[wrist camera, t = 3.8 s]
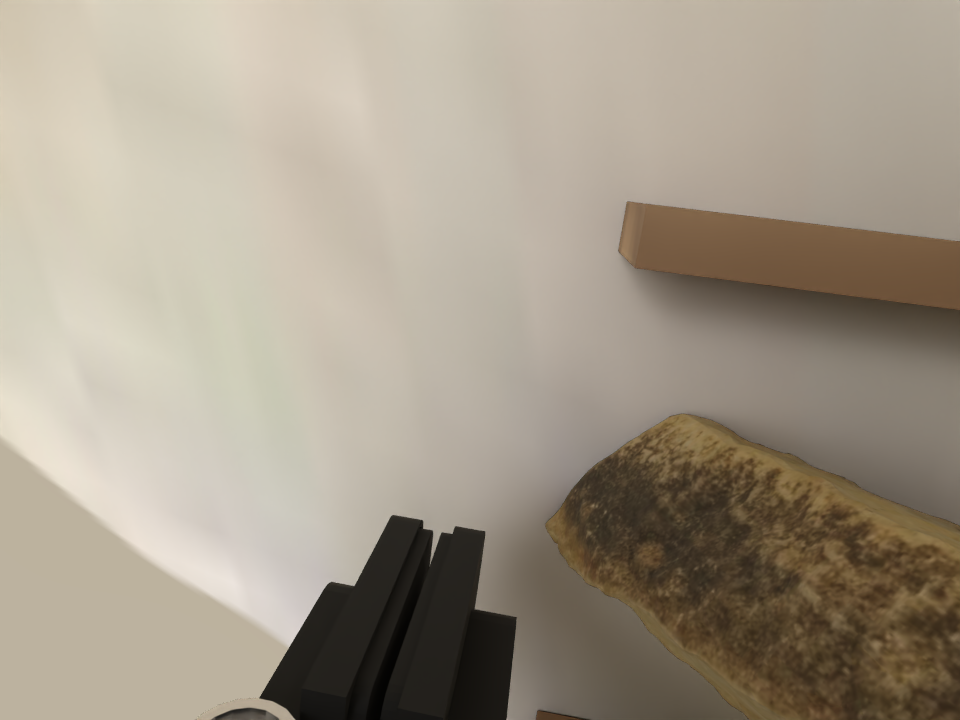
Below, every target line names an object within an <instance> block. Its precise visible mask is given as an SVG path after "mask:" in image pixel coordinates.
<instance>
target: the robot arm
mask: <svg viewBox="0 0 960 720" xmlns="http://www.w3.org/2000/svg"><path fill="white" fill-rule="evenodd" d="M432 540H433V531H432V530H426V529H423V520H418V519H412V518H407V517H401V516H396V515H392V516H391V518H390V519H389V521H388V523H387V525H386V527H385V529H384V531H383V533H382V535H381V537H380V538H379V540H378V542H377V544H376V546H375V548H374V550H373V552H372V554H371V556H370V558H369V560H368V561H367V563H366V565H365V567H364V569H363V571H362V573H361V575H360V577H359V579H358V581H357V582H356V584H355V586H350V585H345V584H340V583H334V582H331V583H329V584H328V585H327V586H326V587H325V589H324V590H323V592H322V593H321V595H320V597H319V599H318V600H317V602H316V604H315V605H314V607H313V609H312V610H311V612H310V614H309V615H308V617H307V619H306V620H305V622H304V624H303V625H302V627H301V629H300V630H299V632H298V634H297V635H296V637H295V639H294V641H293V642H292V644H291V646H290V647H289V649H288V651H287V652H286V654H285V656H284V657H283V659H282V661H281V662H280V664H279V666H278V667H277V669H276V671H275V672H274V674H273V676H272V678H271V679H270V681H269V683H268V684H267V686H266V688H265V689H264V691H263V693H262V694H261V696H260V698H259V699H258V698H248V699H237V700H233V701H230V702H226V703H223V704H219V705H218V706H216V707H214V708H212V709H210V710H208V711H207V712H205V713H203V714H201V715H200V716H199V717H198V718H197V719H196V720H506V718H507V708H508V698H509V689H510V679H511V669H512V659H513V650H514V640H515V630H516V617H512V616H506V615H501V614H496V613H491V612H486V611H480V610H475V603H476V596H477V589H478V582H479V575H480V568H481V561H482V554H483V547H484V540H485V531H479V530H473V529H468V528H462V527H457V526H455V528H454V531H453V534H448V533H443V532H442V533H441V536H440V538H439V541H438V544H437V547H436V550H435V553H434V556H433V558H432V561H431V564H430V557H431V549H432ZM429 566H430V567H429Z"/></svg>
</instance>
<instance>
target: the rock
mask: <svg viewBox="0 0 960 720" xmlns="http://www.w3.org/2000/svg"><path fill="white" fill-rule="evenodd" d="M545 527H546V529H547V531H548V533H549V534H550V536H551V537H552V539H553V541H554V542H555V543H557V544H558V549H559V551H560V554H561V555H562V556H563V557H564V558H565V559H566V561H567V563H568V565H569V567H571V568H572V569H573V570H575V571H576V572H577V573H578V575H580V576H581V577H582V578H583V579H584V581H585V582H586V583H587V584H589V585H591V586H593V587H596V588H599V589H600V590H601V591H602V592H603V593H604V594H605V595H607V596H610V597H614V598H617V599H619V600H620V601H622V602H623V603H625V604H626V605H628V606H629V607H631V608H632V609H633V610H634V612H635V613H636V614H637V615H638V616H639V618H640V619H641V620H642V622H643V623H644V625H645V626H646V628H647V629H648V631H649V632H650V633H652V634H653V635H654V636H656V637H657V638H658V639H659V640H660V642H661V643H662V644H663V645H664V646H665V647H666V648H667V650H668V651H670V652H671V653H672V654H673V655H674V656H676V657H677V658H678V659H680V660H681V661H683V662H685V663H687V664H689V665H690V666H691V668H693V669H694V670H696V671H697V672H698V673H700V674H701V675H702V676H703V677H704V678H705V679H706V680H707V681H708V682H709V683H710V684H711V685H713V686H714V687H715V689H716V690H717V691H718V692H719V694H720V695H721V696H722V697H723V698H724V699H725V700H726V701H727V702H728V703H729V704H730V705H731V706H733V707H734V708H736V709H738V710H740V711H741V712H743V713H744V714H745V716H746V717H747V718H748V719H749V720H960V526H959V525H957V524H954V523H952V522H949V521H947V520H944V519H941V518H937V517H934V516H930V515H928V514H925V513H922V512H919V511H917V510H914V509H911V508H908V507H906V506H903V505H900V504H898V503H895V502H892V501H890V500H887V499H884V498H882V497H879V496H877V495H874V494H872V493H870V492H867V491H865V490H863V489H861V488H860V487H859V486H858V485H857V484H855V483H854V482H851V481H849V480H846V479H845V478H844V477H841V476H838V475H835V474H832V473H829V472H825V471H823V470H820V469H817V468H814V467H812V466H810V465H809V464H807V463H806V462H804V461H802V460H801V459H800V458H798V457H796V456H793V455H791V454H789V453H788V454H784V453H781V452H778V451H775V450H772V449H769V448H767V447H764V446H762V445H760V444H755V443H751V442H749V441H747V440H745V439H743V438H741V437H739V436H738V435H736V434H735V433H734V432H733V431H731V430H729V429H728V428H726V427H724V426H723V425H720V424H718V423H716V422H714V421H712V420H708V419H705V418H701V417H698V416H693V415H687V414H679V415H674V416H670V417H669V418H667V419H666V420H664V421H663V422H661V423H659V424H658V425H656V426H654V427H652V428H651V429H649V430H647V431H645V432H644V433H642V434H641V435H640V436H638V437H636V438H635V439H633V440H631V441H629V442H628V443H627V444H625V445H624V446H623V447H621V448H620V449H619V450H617V451H616V452H615V453H613V454H612V455H610V456H608V457H607V458H605V459H604V460H602V461H600V462H599V463H597V464H596V465H595V466H594V467H592V468H591V469H590V470H589V471H588V472H587V473H586V474H585V475H584V476H583V478H582V479H581V480H580V481H579V482H578V483H577V484H576V485H575V486H574V488H573V489H572V490H571V492H570V493H569V495H568V497H567V498H566V500H565V501H564V503H563V505H562V506H561V508H560V509H559V510H558V512H557V513H556V514H555V515H554V516H553V517H552V518H551V519H549V520H548V522H547V523H546V525H545Z"/></svg>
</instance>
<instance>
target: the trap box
mask: <svg viewBox="0 0 960 720" xmlns="http://www.w3.org/2000/svg"><path fill="white" fill-rule="evenodd" d="M618 251H619V252H620V253H621V254H622V255H623V256H624V257H625V258H626V259H627V260H628V261H629V262H630V263H631V264H632V265H633V266H634V268H639V269H647V270H654V271H662V272H670V273H678V274H685V275H693V276H701V277H708V278H716V279H724V280H732V281H739V282H747V283H755V284H762V285H770V286H778V287H786V288H793V289H801V290H809V291H817V292H824V293H832V294H840V295H847V296H855V297H863V298H871V299H878V300H886V301H894V302H901V303H909V304H917V305H925V306H932V307H940V308H948V309H956V310H960V241H951V240H943V239H935V238H926V237H918V236H910V235H901V234H893V233H885V232H876V231H868V230H860V229H851V228H843V227H835V226H826V225H818V224H810V223H801V222H793V221H785V220H776V219H768V218H760V217H751V216H743V215H735V214H726V213H718V212H710V211H701V210H693V209H685V208H676V207H668V206H660V205H651V204H643V203H635V202H627V204H626V210H625V216H624V221H623V227H622V233H621V239H620V244H619V250H618ZM536 720H583V719H578V718H573V717H568V716H563V715H558V714H553V713H547V712H542V711H537V716H536Z"/></svg>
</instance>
